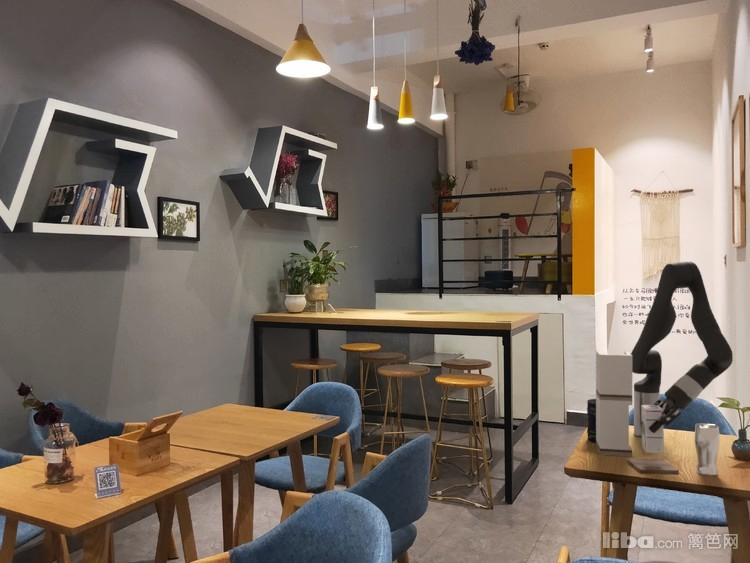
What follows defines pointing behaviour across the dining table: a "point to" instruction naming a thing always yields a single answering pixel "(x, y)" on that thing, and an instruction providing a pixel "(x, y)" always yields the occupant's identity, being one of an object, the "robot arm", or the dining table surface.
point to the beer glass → (707, 448)
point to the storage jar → (591, 420)
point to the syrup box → (650, 439)
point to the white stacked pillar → (613, 403)
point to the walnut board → (652, 466)
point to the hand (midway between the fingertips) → (647, 428)
